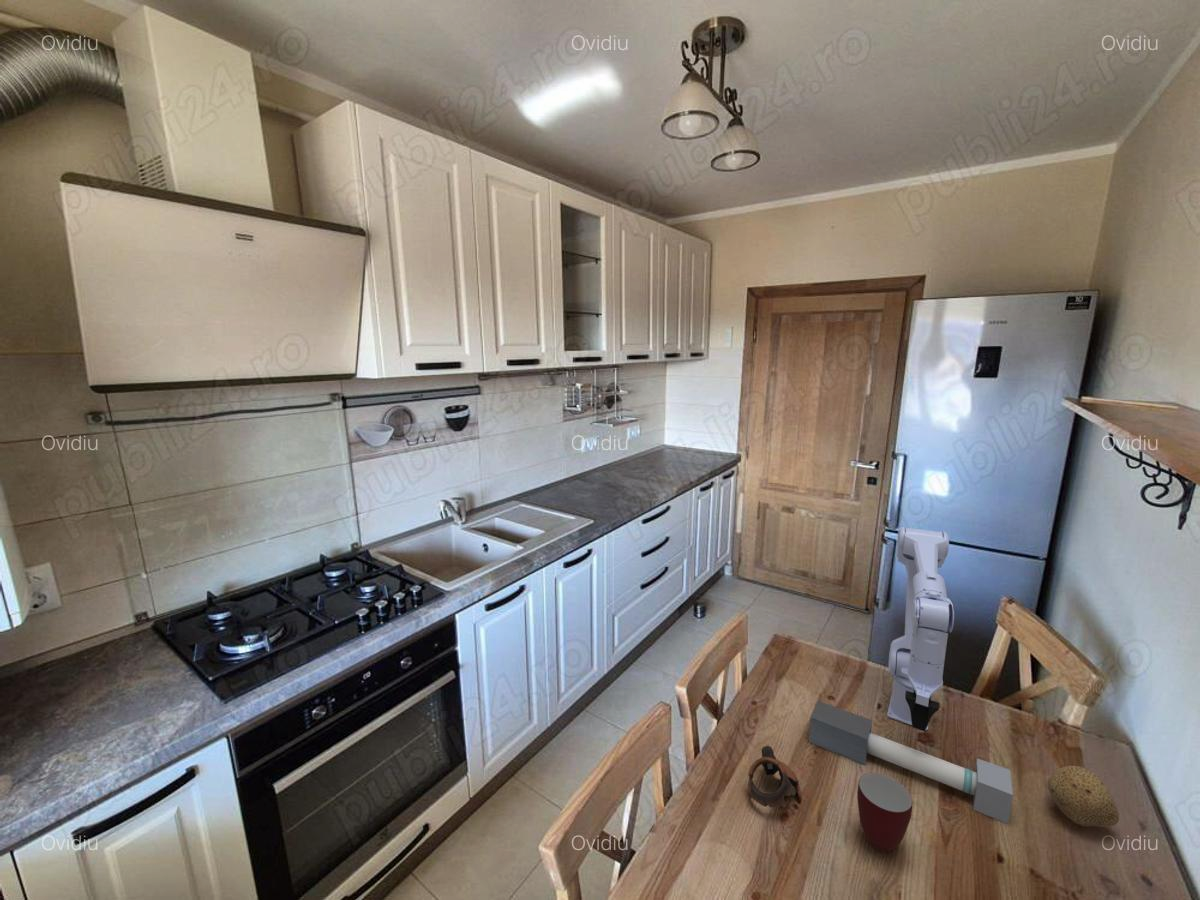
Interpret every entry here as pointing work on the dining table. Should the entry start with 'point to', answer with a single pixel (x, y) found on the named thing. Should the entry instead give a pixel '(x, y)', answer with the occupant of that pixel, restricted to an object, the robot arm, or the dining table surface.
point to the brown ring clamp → (771, 768)
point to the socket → (993, 791)
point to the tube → (923, 763)
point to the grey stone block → (840, 732)
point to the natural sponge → (1083, 797)
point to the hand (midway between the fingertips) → (919, 716)
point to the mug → (883, 810)
